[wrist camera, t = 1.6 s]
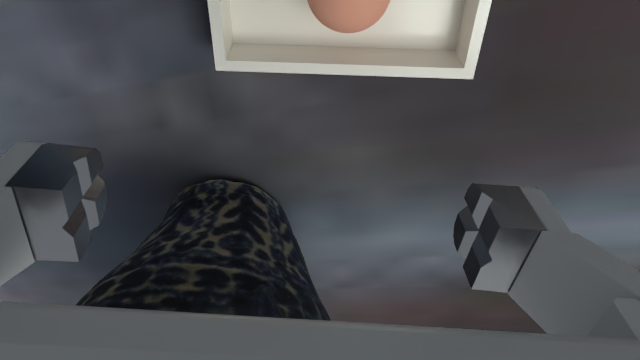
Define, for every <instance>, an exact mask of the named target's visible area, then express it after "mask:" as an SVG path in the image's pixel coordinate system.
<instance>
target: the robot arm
mask: <svg viewBox="0 0 640 360" xmlns="http://www.w3.org/2000/svg"><path fill="white" fill-rule="evenodd" d="M102 167H103V164H102V159H101V155H100V152H99V151H98V150H97V149H96V148H89V147H80V146H71V145H62V144H53V143H44V142H33V141H18V142H15V143H14V144H13V145H12V146H11V147H10V148H9V149H8V150H7V151H6V152H5V153H4V154H3V155H2V156H1V157H0V286H1V285H3V284H4V283H5V282H7V281H8V280H10V279H11V278H13V277H14V276H15V275H17V274H18V273H20V272H21V271H23V270H24V269H26V268H27V267H28V266H30V265H31V264H33V263H34V262H35V261H34V260H47V261H70V262H79V261H80V259H81V257H82V255H83V254H84V252H85V250H86V248H87V247H88V245H89V243H90V241H91V234H90V230H91V229H93V228H95V227H97V226H98V225H100V223H101V221H102V219H103V217H104V214H105V210H106V206H107V187H106V183H105V182H104V181H103V180H102V179H101V178H100V177H99V176H98V173H99V171H100V170H101V168H102ZM464 199H465V201H466V203H467V205H468V206H467V207H465V208H464V209H463V210H461V211H460V212H459V213H458V215H457V218H456V221H455V224H454V235H453V236H454V244H455V247H456V250H457V252H458V253H459V254H460V255H461V256H462V257H464V258H465V259H466V260H465V263H464V265H463V268H464V271H465V274H466V276H467V279H468V281H469V284H470V287H471V289H476V290H486V291H496V292H507V293H508V295H509V296H510V297H511V298H512V299H513V300H514V301H515V302H516V303H517V304H518V305H519V306H520V307H521V308H522V309H523V310H524V311H525V312H526V313H527V314H528V315H529V316H530V317H531V318H532V319H533V320H534V321H535V322H536V323H537V324H538V325H539V326H540V327H541V328H542V329H543V330H544V331H545V332H546V333H547V334H538V333H520V332H504V331H488V330H472V329H456V328H439V327H423V326H407V325H391V324H375V323H359V322H342V321H325V320H308V319H291V318H275V317H258V316H241V315H224V314H207V313H191V312H175V311H158V310H142V309H125V308H109V307H93V306H76V305H60V304H44V303H27V302H11V301H0V360H640V272H639V271H638V270H636V269H634V268H633V267H631V266H629V265H628V264H626V263H625V262H623V261H621V260H620V259H618V258H617V257H615V256H613V255H612V254H610V253H608V252H607V251H605V250H604V249H602V248H600V247H599V246H597V245H596V244H594V243H592V242H591V241H589V240H587V239H586V238H584V237H583V236H581V235H579V234H574V233H571V231H570V230H569V229H568V227H567V226H566V224H565V223H564V221H563V220H562V219H561V217H560V216H559V214H558V213H557V211H556V210H555V209H554V207H553V206H552V204H551V203H550V201H549V200H548V199H547V197H546V196H545V194H544V193H543V191H542V190H540V189H539V188H537V187H524V186H503V185H489V184H475V183H472V184H471V185H470V186H469V188H468V189H467V192H466V194H465V197H464Z"/></svg>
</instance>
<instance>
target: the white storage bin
mask: <svg viewBox="0 0 640 360" xmlns="http://www.w3.org/2000/svg"><path fill="white" fill-rule="evenodd" d="M207 2H208V10H209V18H210V26H211V35H212V43H213V51H214V59H215V68H216V71H244V72H274V73H304V74H334V75H364V76H394V77H423V78H453V79H473V77H474V72H475V68H476V64H477V60H478V56H479V52H480V48H481V43H482V39H483V35H484V31H485V27H486V23H487V19H488V14H489V10H490V6H491V2H492V0H390V3H389V5H388V7H387V10H386V11H385V13H384V14H383V16H382V17H381V18H380V19H379V20H378V21H377V22H376V23H375V24H374V25H372V26H371V27H369V28H367V29H365V30H363V31H360V32H356V33H340V32H336V31H333V30H331V29H329V28H327V27H326V26H324V25H323V24H322V23H321V22H319V21H318V19H317V18H316V17H315V16H314V14H313V13H312V11H311V9H310V7H309V4H308V1H307V0H207Z"/></svg>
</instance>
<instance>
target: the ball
mask: <svg viewBox="0 0 640 360" xmlns="http://www.w3.org/2000/svg"><path fill="white" fill-rule="evenodd" d="M307 1H308V4H309V7H310V9H311V11H312V13H313V14H314V16H315V17H316V18H317V19H318V21H319V22H321V23H322V24H323V25H324V26H326V27H327V28H329V29H331V30H333V31H336V32H340V33H356V32H360V31H363V30H365V29H367V28H369V27H371V26H372V25H374V24H375V23H376V22H377V21H378V20H379V19H380V18H381V17H382V16H383V14H384V13H385V11H386V10H387V7H388V5H389V3H390V0H307Z"/></svg>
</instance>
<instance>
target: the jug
mask: <svg viewBox="0 0 640 360" xmlns="http://www.w3.org/2000/svg"><path fill="white" fill-rule="evenodd" d="M76 306H93V307H109V308H125V309H142V310H158V311H175V312H191V313H207V314H224V315H241V316H258V317H275V318H291V319H308V320H325V321H331V320H330V318H329V316H328V314H327V312H326V310H325V308H324V306H323V304H322V302H321V300H320V298H319V296H318V293H317V291H316V289H315V287H314V285H313V283H312V281H311V278H310V275H309V272H308V269H307V266H306V263H305V260H304V258H303V255H302V253H301V250H300V248H299V245H298V243H297V241H296V239H295V237H294V235H293V233H292V229H291V226H290V224H289V222H288V219H287V217H286V214H285V212H284V210H283V209H282V207H281V206H280V205H279V204H278V203H277V202H276V201H275V200H274V199H273V198H271V197H270V196H269V195H267V194H266V193H265V192H263V191H262V190H260V189H259V188H257V187H255V186H252V185H248V184H245V183H240V182H231V181H227V180H222V179H221V180H209V181H206V182H203V183H200V184H195V185H192V186H190V187H187V188H185V189H184V190H183V191H182V192H180V193H179V194H178V196H177V197H176V199H175V200H174V201H173V203H172V204H171V206H170V208H169V210H168V212H167V214H166V216H165V218H164V219H163V221H162V222H161V224H160V225H159V226H158V227H157V228H156V229H155V230H154V231H153V232H152V233H151V234H150V235H149V236H148V237H147V238H146V239H145V240H144V241H143V242H142V243H141V245H140V246H139V247H138V248H137V249H136V251H134V252H133V253H132V254H131V255H130V256H129V257H128V258H127V259H126V260H125V261H123V262H122V263H121V264H120V265H118V266H117V267H116V268H115V269H113V270H112V271H111V272H110V273H109V274H107V275H106V276H105V277H104V278H103V279H102V280H100V281H99V282H98V283H97V284H96V285H95V286H94V287H93V288H92V289H91V290H90V291H89V292H88V293H87V294H86V295H85V296H84V297H83V298H81V300H80V301H79V302H78V303H77V304H76Z"/></svg>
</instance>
